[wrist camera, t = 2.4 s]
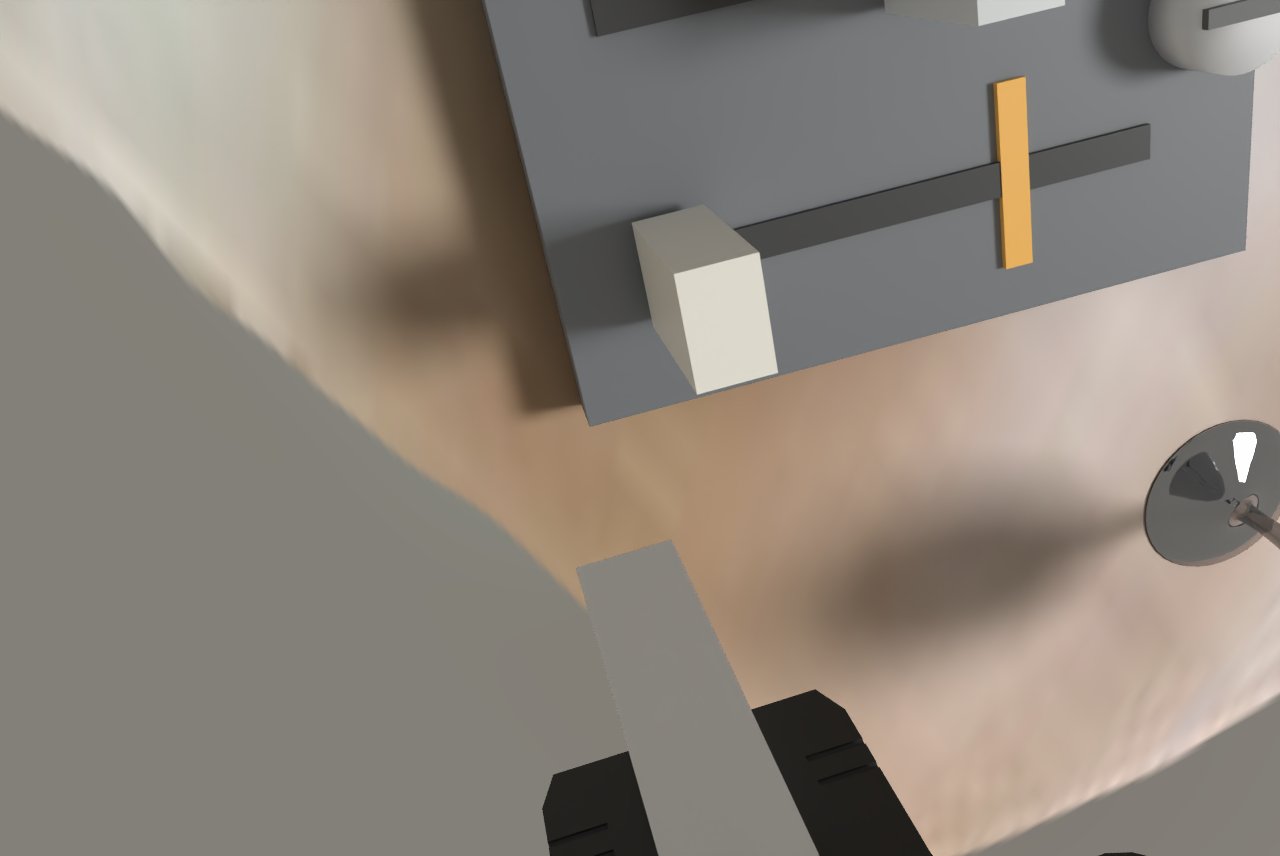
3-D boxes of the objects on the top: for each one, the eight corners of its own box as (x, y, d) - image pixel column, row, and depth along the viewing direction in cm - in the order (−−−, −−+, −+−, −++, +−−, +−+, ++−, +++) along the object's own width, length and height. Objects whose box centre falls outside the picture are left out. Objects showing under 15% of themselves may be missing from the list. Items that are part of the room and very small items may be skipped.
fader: (631, 222, 34) (673, 274, 29) (704, 204, 34) (759, 252, 29) (653, 327, 36) (696, 394, 30) (722, 308, 36) (777, 372, 30)
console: (445, -146, 31) (450, -159, 27) (1228, -315, 34) (1335, -349, 30) (581, 404, 39) (600, 454, 35) (1209, 237, 41) (1291, 266, 38)
